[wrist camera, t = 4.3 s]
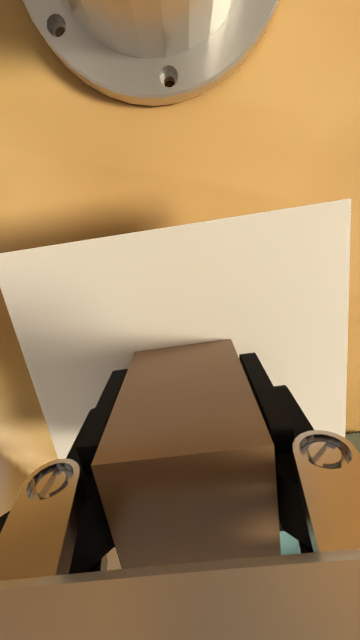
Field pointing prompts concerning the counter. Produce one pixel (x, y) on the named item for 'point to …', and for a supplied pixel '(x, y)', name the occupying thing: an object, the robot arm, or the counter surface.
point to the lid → (188, 366)
